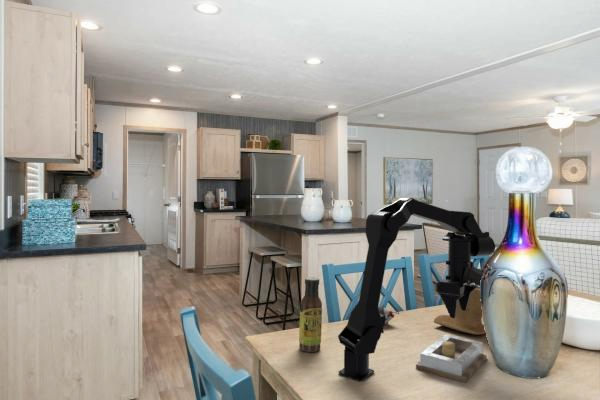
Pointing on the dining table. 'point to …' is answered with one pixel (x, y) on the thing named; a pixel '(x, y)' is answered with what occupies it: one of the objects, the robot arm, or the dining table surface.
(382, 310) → the sundae
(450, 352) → the plate
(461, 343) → the steel link
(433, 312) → the dining table surface
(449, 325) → the tan boot
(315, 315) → the sauce bottle
